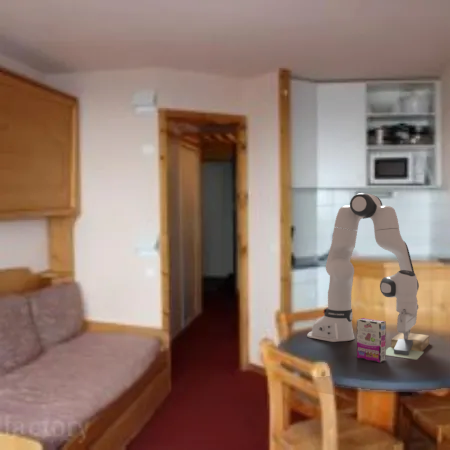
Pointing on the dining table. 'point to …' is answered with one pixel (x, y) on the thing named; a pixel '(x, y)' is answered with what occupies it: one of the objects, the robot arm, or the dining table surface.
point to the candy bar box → (371, 340)
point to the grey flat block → (403, 346)
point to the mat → (412, 355)
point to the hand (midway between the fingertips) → (406, 338)
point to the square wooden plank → (418, 341)
